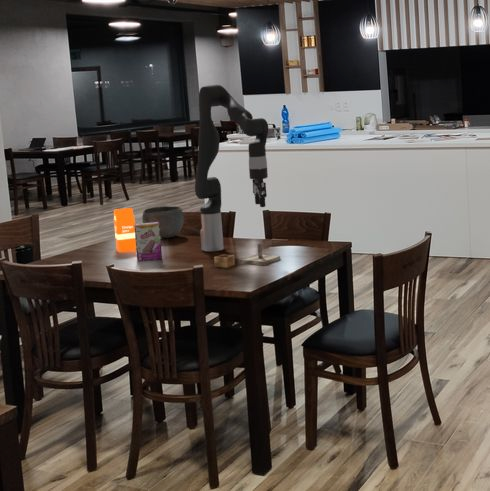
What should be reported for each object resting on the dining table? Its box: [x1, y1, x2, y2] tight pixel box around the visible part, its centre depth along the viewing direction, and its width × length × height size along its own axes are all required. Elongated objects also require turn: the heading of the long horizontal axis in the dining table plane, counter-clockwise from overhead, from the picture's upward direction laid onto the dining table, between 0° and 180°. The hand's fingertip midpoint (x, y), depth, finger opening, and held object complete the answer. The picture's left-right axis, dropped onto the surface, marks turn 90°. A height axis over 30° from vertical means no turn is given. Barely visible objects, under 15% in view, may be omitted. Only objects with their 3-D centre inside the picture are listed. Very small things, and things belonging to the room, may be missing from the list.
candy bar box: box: [134, 222, 163, 262], centre depth 381 cm, size 11×5×16 cm, turn 100°
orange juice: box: [113, 207, 136, 253], centre depth 407 cm, size 8×9×20 cm
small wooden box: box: [213, 254, 236, 269], centre depth 359 cm, size 6×6×4 cm
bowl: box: [141, 205, 185, 240], centre depth 434 cm, size 21×21×15 cm
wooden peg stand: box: [240, 242, 281, 266], centre depth 362 cm, size 12×12×8 cm
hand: (260, 205), depth 361 cm, fingers open, 8 cm apart
